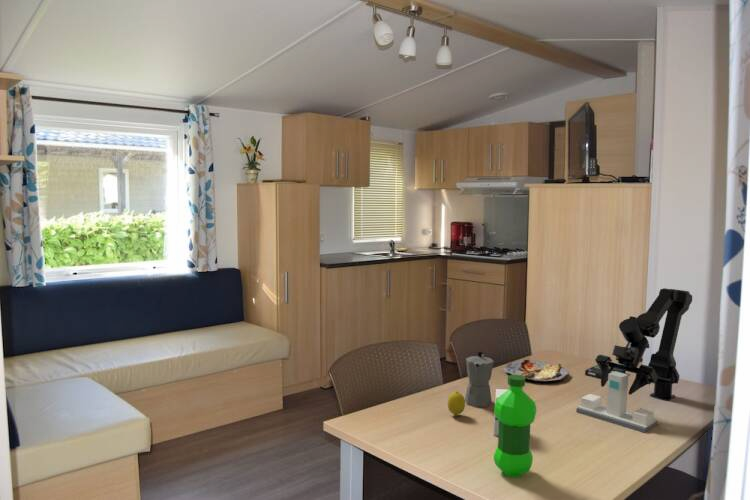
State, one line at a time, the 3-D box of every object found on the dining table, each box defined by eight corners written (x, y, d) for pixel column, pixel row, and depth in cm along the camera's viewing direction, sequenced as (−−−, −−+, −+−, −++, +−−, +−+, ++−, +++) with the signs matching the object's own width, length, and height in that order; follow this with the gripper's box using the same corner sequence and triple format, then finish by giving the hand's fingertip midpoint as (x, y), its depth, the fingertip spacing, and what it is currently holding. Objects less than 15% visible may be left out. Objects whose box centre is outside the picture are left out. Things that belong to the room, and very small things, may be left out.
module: (613, 410, 190) (615, 371, 188) (626, 414, 186) (628, 374, 185) (605, 413, 187) (608, 373, 186) (618, 417, 183) (621, 377, 182)
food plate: (520, 361, 249) (520, 353, 248) (575, 372, 235) (575, 364, 235) (495, 377, 228) (496, 368, 228) (554, 390, 215) (554, 381, 214)
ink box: (493, 424, 179) (495, 388, 178) (510, 426, 178) (511, 389, 177) (493, 436, 171) (495, 397, 170) (511, 437, 170) (512, 399, 169)
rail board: (590, 404, 198) (591, 392, 198) (657, 424, 182) (658, 410, 182) (576, 411, 191) (576, 398, 191) (644, 432, 175) (645, 418, 175)
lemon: (466, 414, 188) (467, 390, 187) (461, 420, 183) (462, 395, 182) (450, 411, 190) (451, 387, 189) (445, 417, 185) (445, 392, 184)
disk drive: (610, 383, 224) (625, 374, 235) (610, 376, 224) (626, 368, 234) (584, 376, 232) (600, 368, 242) (584, 369, 231) (601, 362, 242)
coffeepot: (489, 411, 191) (492, 357, 189) (461, 407, 194) (463, 354, 192) (494, 396, 205) (496, 346, 204) (468, 392, 208) (469, 343, 206)
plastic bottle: (489, 477, 146) (493, 380, 143) (496, 460, 155) (499, 369, 153) (530, 485, 142) (534, 386, 140) (534, 466, 152) (539, 374, 150)
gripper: (599, 330, 194) (580, 368, 188) (655, 342, 180) (636, 383, 174) (610, 350, 200) (591, 387, 194) (665, 362, 185) (647, 403, 179)
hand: (615, 390), depth 185 cm, fingers open, 9 cm apart
